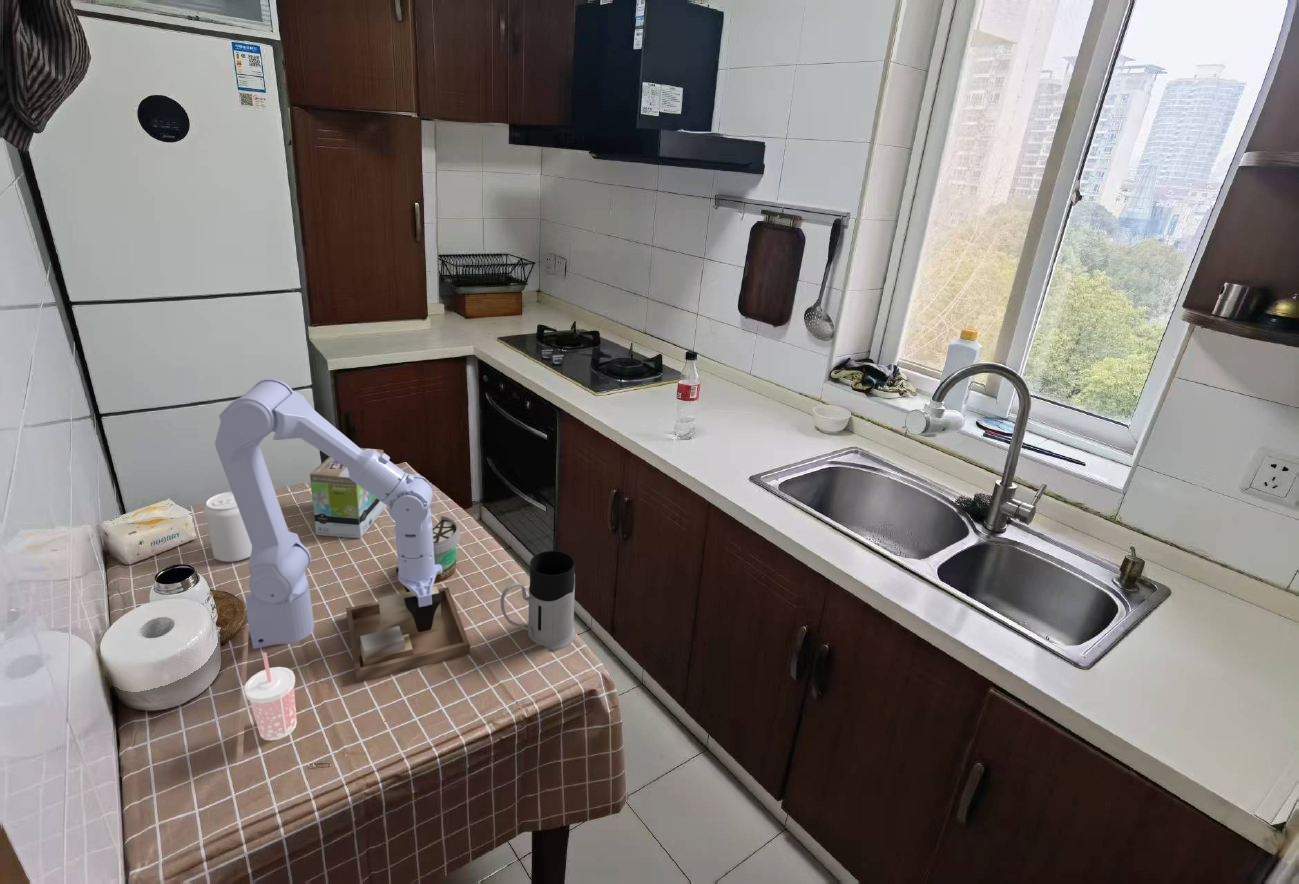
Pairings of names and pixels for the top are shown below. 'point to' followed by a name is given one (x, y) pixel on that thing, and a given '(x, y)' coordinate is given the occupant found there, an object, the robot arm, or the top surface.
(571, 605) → the grey mug
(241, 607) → the top surface
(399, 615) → the cream chamfered post
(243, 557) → the beverage can
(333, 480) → the tea box
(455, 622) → the crate
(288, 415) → the robot arm
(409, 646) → the offcut lower
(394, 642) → the offcut upper
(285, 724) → the beverage cup
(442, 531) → the food container
